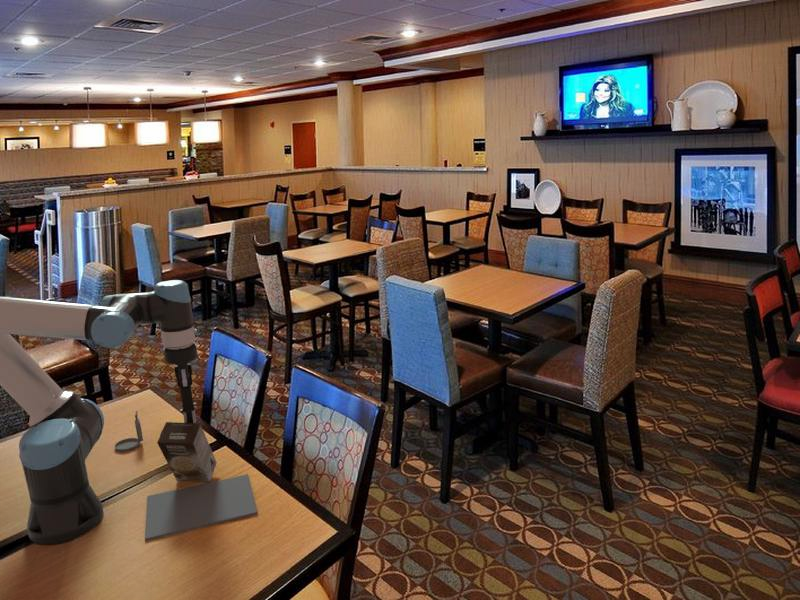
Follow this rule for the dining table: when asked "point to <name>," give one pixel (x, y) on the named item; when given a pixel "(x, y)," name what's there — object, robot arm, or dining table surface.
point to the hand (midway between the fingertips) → (191, 432)
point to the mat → (199, 506)
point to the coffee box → (187, 452)
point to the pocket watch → (131, 442)
